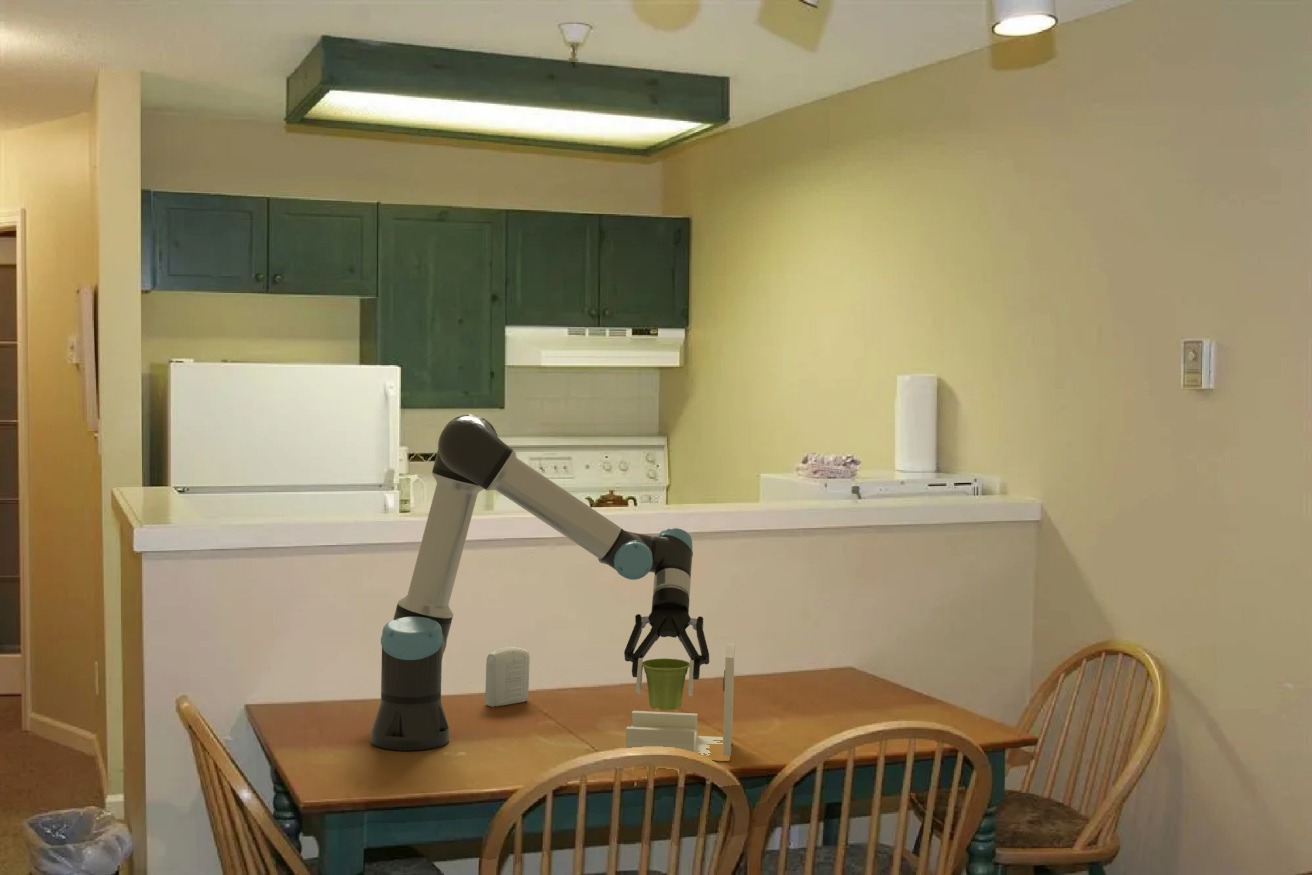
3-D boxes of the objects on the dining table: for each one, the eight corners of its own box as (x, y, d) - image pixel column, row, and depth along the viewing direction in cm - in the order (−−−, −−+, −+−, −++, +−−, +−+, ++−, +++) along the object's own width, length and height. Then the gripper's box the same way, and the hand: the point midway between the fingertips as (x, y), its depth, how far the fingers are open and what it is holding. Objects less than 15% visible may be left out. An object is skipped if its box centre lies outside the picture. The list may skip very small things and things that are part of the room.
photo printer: (519, 697, 314) (520, 643, 313) (531, 701, 311) (532, 646, 310) (482, 704, 307) (483, 648, 306) (494, 708, 304) (495, 651, 303)
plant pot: (647, 714, 269) (648, 669, 269) (635, 702, 279) (636, 658, 278) (694, 712, 272) (695, 667, 271) (681, 700, 281) (682, 657, 280)
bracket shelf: (632, 737, 283) (634, 639, 282) (731, 742, 282) (734, 643, 280) (625, 756, 269) (628, 653, 268) (730, 761, 268) (733, 657, 267)
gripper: (725, 608, 289) (721, 703, 274) (618, 605, 290) (608, 699, 275) (725, 587, 283) (721, 682, 268) (616, 583, 285) (606, 678, 270)
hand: (664, 691), depth 272 cm, fingers closed on plant pot, 9 cm apart
